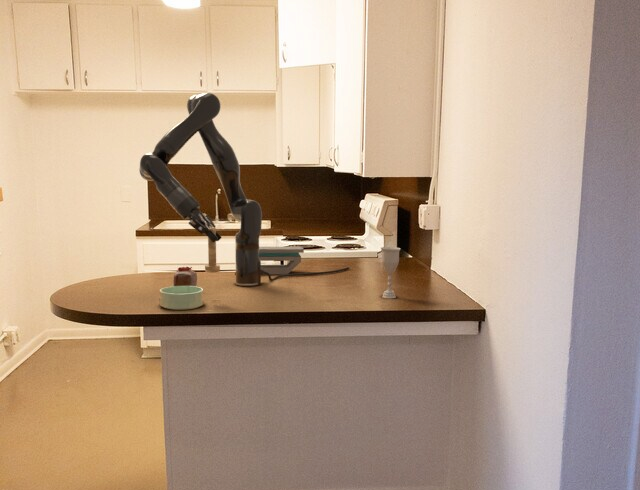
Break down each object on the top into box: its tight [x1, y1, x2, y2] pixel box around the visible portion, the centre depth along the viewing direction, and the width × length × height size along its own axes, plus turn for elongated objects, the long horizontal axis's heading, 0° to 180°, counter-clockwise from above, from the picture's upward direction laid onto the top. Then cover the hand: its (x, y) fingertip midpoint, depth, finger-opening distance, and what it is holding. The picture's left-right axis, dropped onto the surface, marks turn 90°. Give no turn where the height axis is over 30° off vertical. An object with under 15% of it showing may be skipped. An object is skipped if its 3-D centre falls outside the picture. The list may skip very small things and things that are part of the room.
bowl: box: [159, 285, 205, 311], centre depth 222 cm, size 14×14×6 cm
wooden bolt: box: [204, 227, 221, 274], centre depth 225 cm, size 5×5×15 cm
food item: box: [173, 266, 198, 287], centre depth 242 cm, size 14×8×10 cm, turn 7°
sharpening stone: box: [259, 246, 305, 275], centre depth 287 cm, size 25×8×11 cm, turn 98°
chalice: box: [380, 246, 401, 299], centre depth 241 cm, size 7×7×18 cm
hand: (217, 239), depth 224 cm, fingers closed on wooden bolt, 2 cm apart
